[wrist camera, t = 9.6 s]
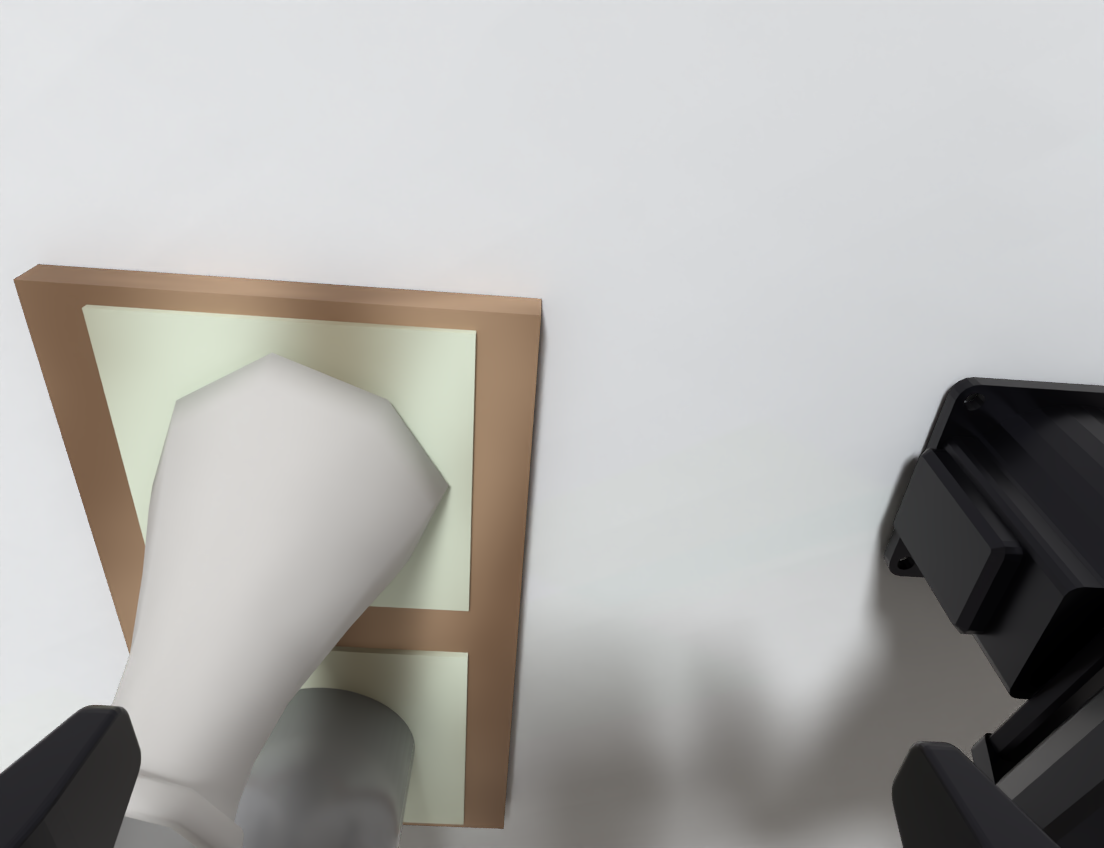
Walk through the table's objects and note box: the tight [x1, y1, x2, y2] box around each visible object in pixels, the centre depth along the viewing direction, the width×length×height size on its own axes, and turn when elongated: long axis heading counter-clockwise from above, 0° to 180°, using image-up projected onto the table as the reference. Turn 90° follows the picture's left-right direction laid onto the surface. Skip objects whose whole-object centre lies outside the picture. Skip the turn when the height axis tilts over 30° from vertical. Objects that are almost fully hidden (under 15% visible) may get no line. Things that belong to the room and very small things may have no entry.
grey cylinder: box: [234, 688, 415, 848], centre depth 23 cm, size 6×6×7 cm
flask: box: [112, 353, 449, 848], centre depth 16 cm, size 7×7×10 cm
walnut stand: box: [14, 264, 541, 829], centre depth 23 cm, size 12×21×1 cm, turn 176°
